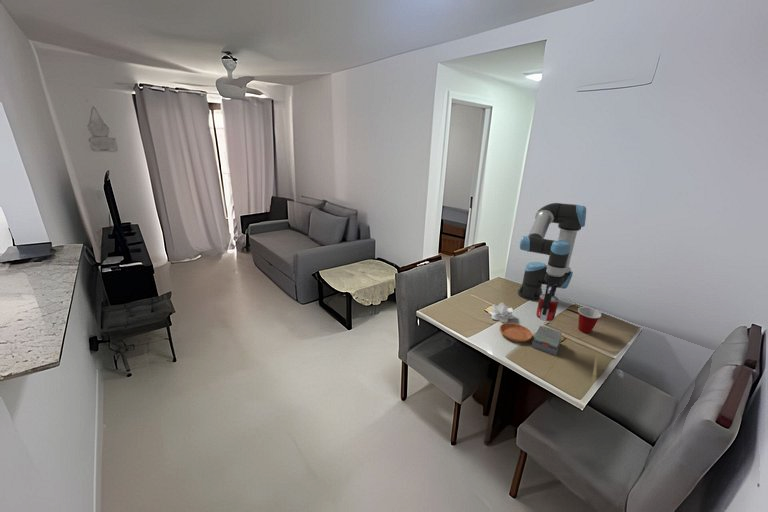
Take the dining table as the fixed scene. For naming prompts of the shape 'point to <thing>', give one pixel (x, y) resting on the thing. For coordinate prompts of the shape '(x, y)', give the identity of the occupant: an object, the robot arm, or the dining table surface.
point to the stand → (547, 340)
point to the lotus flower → (501, 312)
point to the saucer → (515, 332)
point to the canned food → (551, 307)
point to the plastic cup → (587, 319)
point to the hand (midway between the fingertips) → (544, 316)
